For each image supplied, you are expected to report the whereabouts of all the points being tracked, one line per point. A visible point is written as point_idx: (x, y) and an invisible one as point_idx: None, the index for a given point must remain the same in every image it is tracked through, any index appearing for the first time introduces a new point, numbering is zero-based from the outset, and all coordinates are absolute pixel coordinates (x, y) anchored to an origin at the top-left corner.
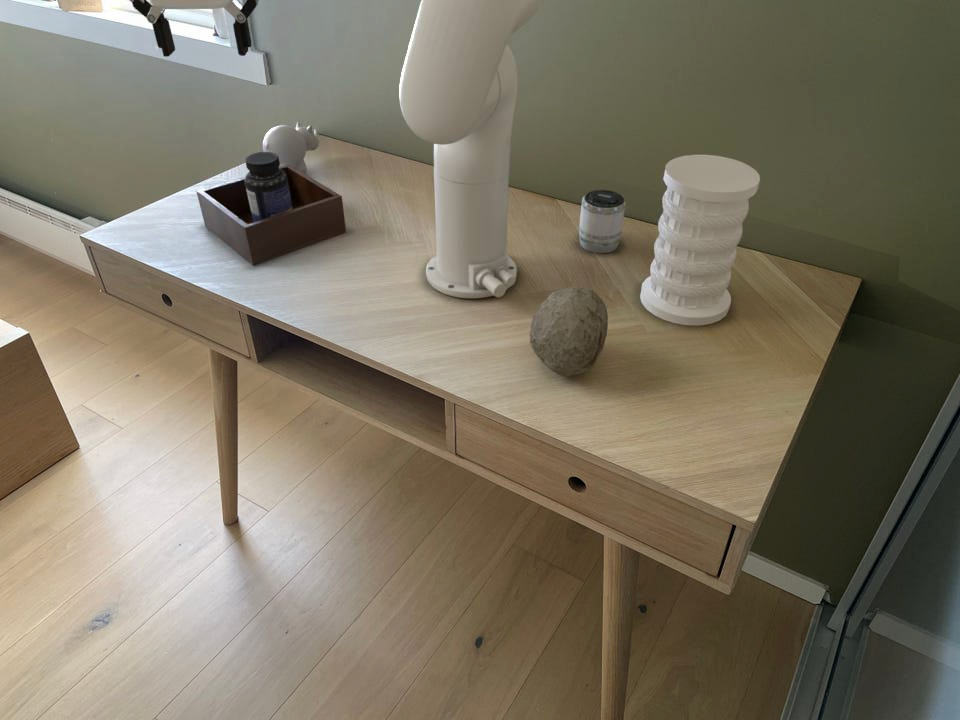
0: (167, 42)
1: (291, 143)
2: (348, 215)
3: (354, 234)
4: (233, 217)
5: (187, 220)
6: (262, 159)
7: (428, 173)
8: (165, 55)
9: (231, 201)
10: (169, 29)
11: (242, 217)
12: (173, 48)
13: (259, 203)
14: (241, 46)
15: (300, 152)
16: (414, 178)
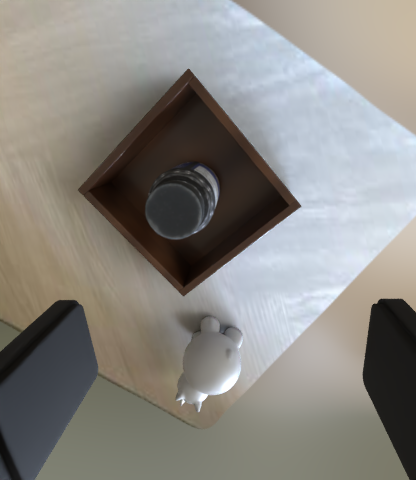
0: (395, 352)
1: (193, 354)
2: None
3: None
4: (217, 108)
5: (321, 213)
6: (169, 205)
7: None
8: (391, 299)
9: (255, 222)
10: (407, 456)
11: (244, 214)
12: (368, 371)
13: (192, 166)
14: (40, 316)
15: (187, 347)
16: None
